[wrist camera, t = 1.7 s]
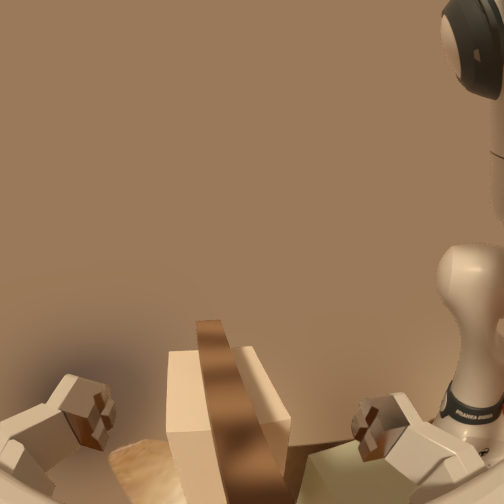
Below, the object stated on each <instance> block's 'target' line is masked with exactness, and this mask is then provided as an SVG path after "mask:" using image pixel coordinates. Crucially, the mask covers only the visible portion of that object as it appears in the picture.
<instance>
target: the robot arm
mask: <svg viewBox="0 0 504 504" xmlns="http://www.w3.org/2000/svg"><path fill="white" fill-rule="evenodd" d="M441 40H442V45H443V48H444V51H445V54H446V57H447V59H448V61H449V63H450V65H451V67H452V68H453V70H454V71H455V73H456V76H457V78H458V80H459V82H460V83H461V84H462V85H463V86H464V87H465V88H466V89H467V90H468V91H470V92H472V93H474V94H477V95H480V96H482V97H486V98H489V99H490V194H489V195H490V196H489V200H490V205H491V209H492V211H493V213H494V215H495V217H496V218H497V219H498V221H499V222H500V223H501V224H502V225H503V226H504V0H450V2H449V3H448V4H447V5H446V7H445V8H444V9H443V11H442V22H441ZM436 285H437V291H438V294H439V296H440V299H441V301H442V302H443V304H444V305H445V307H446V308H447V309H448V310H449V311H450V312H451V314H452V315H453V316H454V318H455V320H456V322H457V324H458V327H459V331H460V335H461V352H460V357H459V361H458V365H457V369H456V372H455V375H454V378H453V380H452V381H451V382H450V384H449V387H448V389H447V391H446V393H445V395H444V398H443V400H442V403H441V406H440V411H439V413H438V415H437V416H436V418H435V420H434V421H433V423H432V424H430V423H428V422H427V421H426V422H423V421H422V420H421V418H420V416H419V415H418V413H417V412H416V410H415V409H414V407H413V406H412V404H411V402H410V401H409V399H408V398H407V396H406V395H405V393H403V392H399V393H393V394H386V395H380V396H373V397H367V398H364V399H363V400H362V401H361V403H360V404H359V407H360V409H361V410H359V411H358V412H357V413H356V414H355V415H354V417H353V419H352V425H351V429H352V434H353V437H354V439H355V440H357V441H358V442H360V444H359V446H358V450H359V453H360V455H361V458H362V460H363V462H367V461H372V460H377V459H382V458H385V460H386V461H387V462H389V463H390V464H391V465H392V466H393V467H395V468H396V469H397V470H398V471H400V472H401V473H402V474H403V475H405V476H406V477H407V478H408V479H410V480H411V481H412V482H414V483H415V484H416V485H417V486H419V487H417V488H416V489H415V490H414V491H413V492H412V493H411V494H410V495H409V497H408V498H409V500H410V503H411V504H504V337H503V336H502V335H501V334H500V333H498V332H497V331H496V328H497V324H498V321H499V319H503V318H504V246H501V245H493V244H484V243H469V244H461V245H454V246H451V247H450V248H449V249H448V250H447V251H446V252H445V254H444V255H443V257H442V258H441V261H440V263H439V265H438V269H437V275H436ZM110 395H111V390H110V387H109V386H108V385H106V384H102V383H99V382H95V381H91V380H88V379H84V378H81V377H77V376H74V375H71V374H67V375H65V376H64V378H63V379H62V380H61V382H60V383H59V385H58V386H57V388H56V389H55V391H54V392H53V394H52V395H51V397H50V399H49V400H48V402H47V403H46V404H43V403H42V404H40V405H38V406H35V407H33V408H31V409H29V410H26V411H24V412H22V413H20V414H17V415H15V416H13V417H11V418H8V419H6V420H4V421H1V422H0V504H65V503H63V502H60V501H58V500H56V499H54V498H52V494H53V491H54V489H55V483H54V482H53V481H52V479H51V478H50V477H49V476H48V475H47V474H46V473H45V472H47V471H48V470H50V469H51V468H52V467H54V466H55V465H57V464H58V463H59V462H61V461H62V460H63V459H65V458H66V457H68V456H69V455H70V454H72V453H73V452H74V451H76V450H77V449H78V448H80V447H81V446H80V445H82V446H85V447H88V448H91V449H95V450H98V451H102V452H104V449H105V447H106V444H107V441H108V438H109V436H108V433H107V431H108V430H110V429H111V428H113V426H114V423H115V419H116V407H115V403H114V401H113V400H111V399H110Z"/></svg>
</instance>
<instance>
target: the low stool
mask: <svg viewBox="0 0 504 504" xmlns="http://www.w3.org/2000/svg"><path fill="white" fill-rule="evenodd" d="M359 444H360V442H358V441H357V440H354V441H352V442H349V443H346V444H343V445H340V446H337V447H334V448H330V449H327V450H324V451H320V452H317V453H313V454H309V455H308V458H307V462H306V467H305V471H304V476H303V480H302V484H301V488H300V492H299V496H298V500H297V503H296V504H411V503H410V500H409V498H408V497H409V495H410V494H411V493H412V492H413V491H414V490H415V489H416V488H417V487H419V486H417V485H416V484H415V483H414V482H412V481H411V480H410V479H408V478H407V477H406V476H405V475H403V474H402V473H401V472H400V471H398V470H397V469H396V468H395V467H393V466H392V465H391V464H390V463H389V462H387V461H386V460H385V458H382V459H377V460H372V461H367V462H363V460H362V458H361V455H360V453H359V450H358V446H359Z"/></svg>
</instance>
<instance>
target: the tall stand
mask: <svg viewBox="0 0 504 504" xmlns="http://www.w3.org/2000/svg"><path fill="white" fill-rule="evenodd" d="M230 349H231V352H232V354H233V357H234V360H235V363H236V365H237V368H238V371H239V373H240V376H241V378H242V381H243V384H244V386H245V389H246V391H247V394H248V396H249V399H250V402H251V404H252V407H253V409H254V411H255V414H256V416H257V419H258V421H259V424H260V426H261V429H262V431H263V433H264V436H265V438H266V440H267V443H268V445H269V447H270V450H271V452H272V454H273V457H274V459H275V461H276V463H277V466H278V468H279V470H280V472H281V475H282V477H283V478H284V471H285V464H286V457H287V450H288V442H289V434H290V426H291V417H290V415H289V414H288V412H287V410H286V408H285V407H284V405H283V403H282V401H281V399H280V398H279V396H278V394H277V392H276V390H275V389H274V387H273V385H272V383H271V381H270V379H269V378H268V376H267V374H266V372H265V370H264V368H263V366H262V365H261V363H260V361H259V359H258V357H257V355H256V353H255V352H254V350H253V348H252V346H248V347H237V348H230ZM166 412H167V413H166V433H167V437H168V441H169V445H170V449H171V453H172V456H173V460H174V463H175V467H176V470H177V473H178V476H179V480H180V483H181V486H182V489H183V492H184V495H185V498H186V501H187V503H188V504H227V501H226V497H225V493H224V489H223V485H222V480H221V476H220V471H219V467H218V462H217V458H216V453H215V448H214V443H213V438H212V433H211V427H210V422H209V416H208V411H207V405H206V399H205V393H204V387H203V380H202V374H201V367H200V360H199V353H198V350H194V351H171V352H169V361H168V380H167V409H166Z"/></svg>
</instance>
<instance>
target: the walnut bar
mask: <svg viewBox="0 0 504 504" xmlns="http://www.w3.org/2000/svg"><path fill="white" fill-rule="evenodd" d="M196 333H197V345H198V353H199V360H200V367H201V374H202V380H203V387H204V393H205V399H206V405H207V411H208V416H209V422H210V427H211V433H212V438H213V443H214V448H215V453H216V458H217V462H218V467H219V471H220V476H221V480H222V485H223V489H224V493H225V497H226V501H227V504H295V502H294V500H293V498H292V496H291V494H290V492H289V490H288V488H287V485H286V483H285V481H284V479H283V477H282V475H281V472H280V470H279V468H278V466H277V463H276V461H275V459H274V457H273V454H272V452H271V450H270V447H269V445H268V443H267V440H266V438H265V436H264V433H263V431H262V429H261V426H260V424H259V421H258V419H257V416H256V414H255V411H254V409H253V407H252V404H251V402H250V399H249V396H248V394H247V391H246V389H245V386H244V384H243V381H242V378H241V376H240V373H239V371H238V368H237V365H236V363H235V360H234V357H233V354H232V352H231V349H230V346H229V344H228V341H227V338H226V335H225V332H224V329H223V327H222V324H221V321H220V320H207V321H196Z"/></svg>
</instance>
